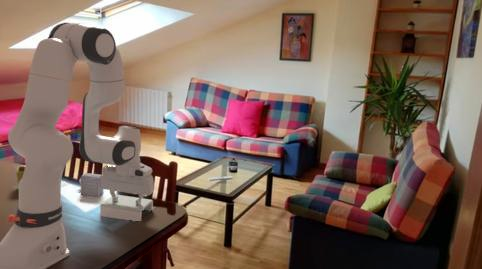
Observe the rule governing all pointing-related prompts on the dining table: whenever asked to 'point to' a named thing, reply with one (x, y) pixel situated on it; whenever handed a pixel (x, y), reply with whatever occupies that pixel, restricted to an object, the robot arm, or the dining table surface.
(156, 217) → the dining table surface
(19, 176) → the flower pot
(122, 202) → the lid
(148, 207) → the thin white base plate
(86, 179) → the medicine box
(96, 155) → the robot arm
